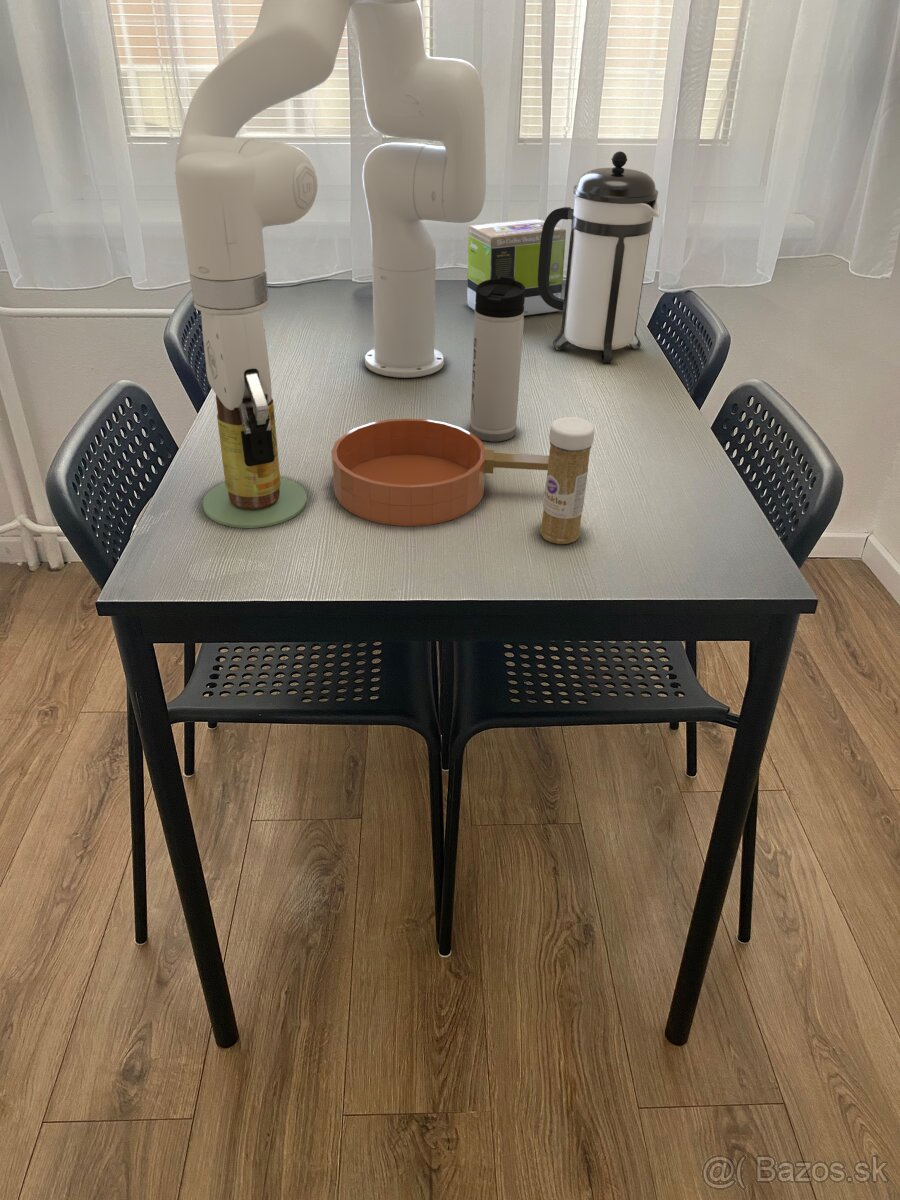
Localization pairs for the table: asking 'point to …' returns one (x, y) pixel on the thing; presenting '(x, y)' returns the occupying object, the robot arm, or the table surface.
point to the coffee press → (602, 257)
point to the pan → (408, 471)
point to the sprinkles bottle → (566, 479)
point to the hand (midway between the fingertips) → (249, 446)
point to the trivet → (278, 512)
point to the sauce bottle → (241, 480)
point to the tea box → (514, 259)
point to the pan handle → (514, 461)
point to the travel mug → (496, 358)
